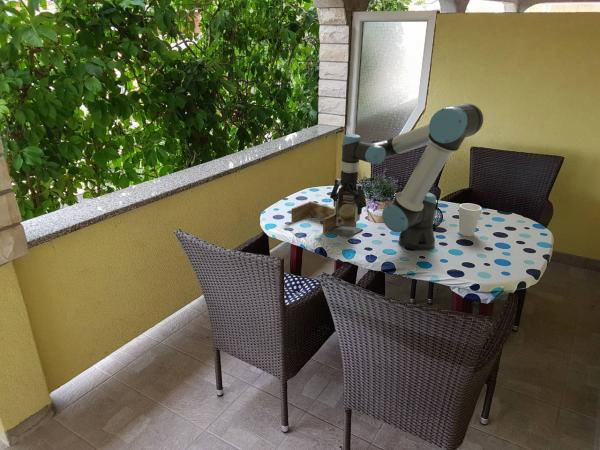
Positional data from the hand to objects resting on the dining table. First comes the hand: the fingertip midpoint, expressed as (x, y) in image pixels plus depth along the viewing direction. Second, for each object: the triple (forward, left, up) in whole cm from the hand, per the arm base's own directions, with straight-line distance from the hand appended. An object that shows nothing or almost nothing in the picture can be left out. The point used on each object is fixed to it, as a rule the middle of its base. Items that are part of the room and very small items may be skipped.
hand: (346, 217), depth 206 cm
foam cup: (-42, -35, -7) cm, 56 cm away
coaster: (0, 0, -7) cm, 7 cm away
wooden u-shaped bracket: (+16, +2, -7) cm, 17 cm away
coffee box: (0, 0, -4) cm, 4 cm away
